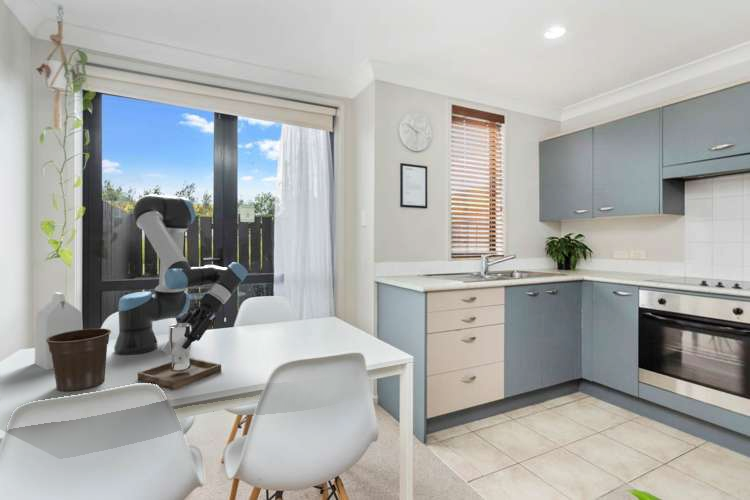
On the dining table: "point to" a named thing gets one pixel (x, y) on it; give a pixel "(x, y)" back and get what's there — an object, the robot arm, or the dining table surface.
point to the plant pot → (79, 358)
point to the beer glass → (175, 338)
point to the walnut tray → (179, 374)
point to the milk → (54, 326)
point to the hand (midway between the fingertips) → (169, 354)
